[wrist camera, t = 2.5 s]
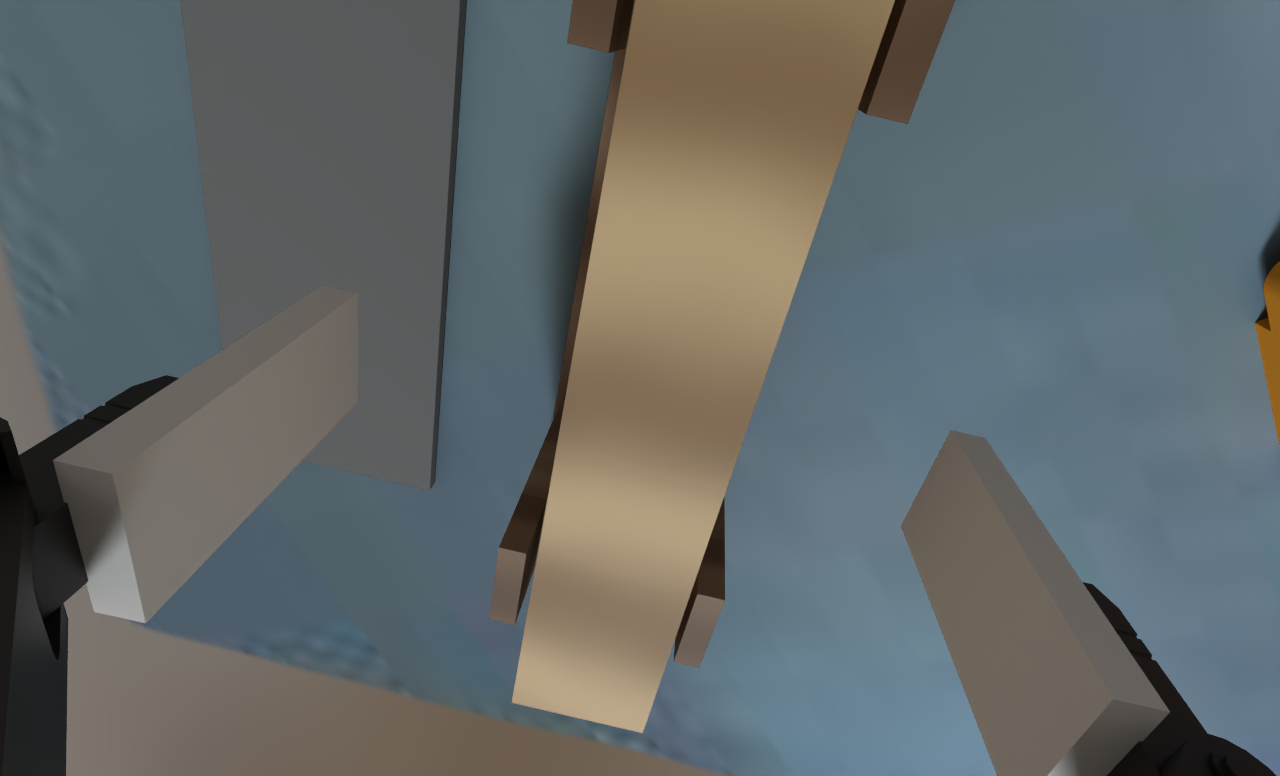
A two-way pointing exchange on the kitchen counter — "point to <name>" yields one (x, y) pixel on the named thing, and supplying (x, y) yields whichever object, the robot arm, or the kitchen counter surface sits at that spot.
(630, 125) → the rail
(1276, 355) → the orange hinge mount
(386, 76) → the mat
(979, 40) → the kitchen counter surface
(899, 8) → the bracket
